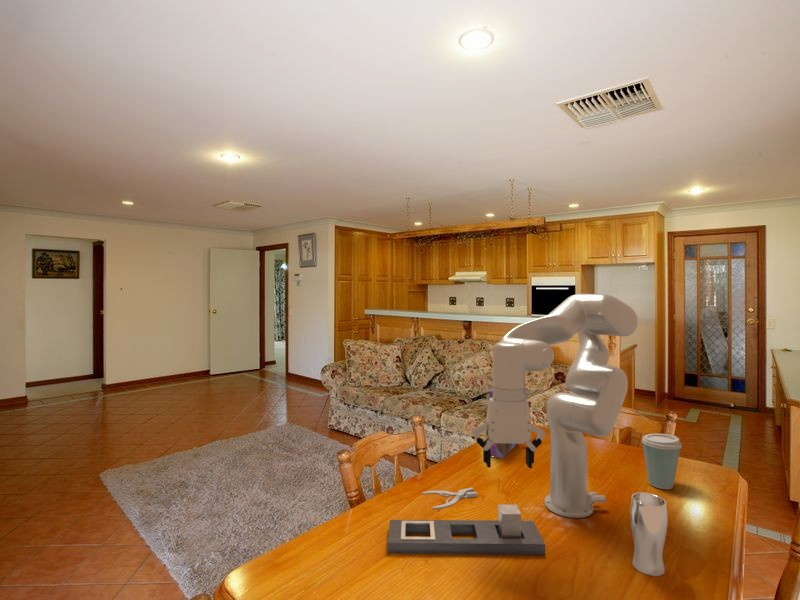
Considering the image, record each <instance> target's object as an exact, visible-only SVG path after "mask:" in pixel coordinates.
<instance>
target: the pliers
mask: <svg viewBox="0 0 800 600" xmlns="http://www.w3.org/2000/svg"><path fill="white" fill-rule="evenodd" d="M421 493H422V495H435V494H436V495H439V496H441V497H445V498H448V499H446V501H445V503H443V504H440V505H435V506H432V510H437V509H438V510H439V509H445V508H448V507H452V506H453V505H455V504H457V503H458V502H459V501H460V500H463V499H471V497H473V498H477V497H478V492H477V491H474V487H469V488H467V487H466V488H462V489H460V490H458V491H457V492H452V491H448V490H428V491H423V492H421ZM445 494H446V495H445ZM450 495H451V496H452V497H453V499H452V497H450ZM451 499H452V500H451ZM457 501H458V502H457ZM456 502H457V503H456Z"/></svg>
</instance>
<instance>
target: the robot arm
mask: <svg viewBox="0 0 800 600" xmlns="http://www.w3.org/2000/svg"><path fill="white" fill-rule="evenodd" d="M638 320H639V319H638V316H637V313H636V311H635V310H634V309H633V308H632V307H631V306H629V305H628V304H626V303H625V302H623V301H622V300H621V299H619V298H617V297H615V296H613V295H609V294H606V293H576V294H573V295H570V296H568V297H567V298H565V300H563V301H562V302H561V303H560V304H558V306H556V307H555V308H554V309H553V310H552V311H551V312H549V313H548V314H547V315H544V316H541V317H537V318H536V319H533V320H531V321H527V322H525V323H522V324H520V325H517V326H515V327H514V328H512V329H511V330H510V331H508V332H507V333H506V334H504V336H503V337H502V338H501V339H499V342H497V343H495V344H494V345H493V346H492V347H493V348H492V389H493V398H490V399H488V404H487V409H486V410H487V411H486V420H485V421H486V422H485V423H483V424H481V425H479V426H477V427H475V428H472V429H471V433H472V435H473V437H474V439H475V441H476V443H477V444H478V445H479V446H480V447H481V448H482V451H483V452H482V454H483V455H482V460H483V463H484V464H485V465H486V468H488V469H489V468H492V467H491V465H492V464H491V462H492V460H491V459H492V457H491V451H490V449H489V448H490V447H491V446H492V445H493V444H494V443H517V445H518V444H526V447H525V464H526V466H527V468H529V469H533V464H534V463H535V451H537V448H538V447H539V446H540V445H542V443H543V440H544V439H545V437H546V434H547V432H546V431H545V430H544V429H542V428H541V427H538V426H536V425H534V424H532V420H531V412H530V405H529V400H528V399H527V397H528V396H532V390H531V389H528V388H526V373H527V372H543V371H545V370H548V368H550V367H551V366H552V364H553V362H554V359H555V358H554V357H555V354H554V350H553V348H552V346H551V345H557V344H562V343H566V342H568V341H569V340H571V339H572V338H573V337H574V336H575V335H576V334H577V336H578V343H579V344H578V345H579V346H578V350H577V352H576V355H575V357H574V359H573V361H572V364H571V366H570V368H569V370H568V372H567V375H566V378H565V386H566V388H567V390H568V391H570V393H569V392H557V393H554V394H552V395H551V396H549V397H548V400H547V403H546V416H547V422H548V426H549V434H550V439H549V441H550V444H549V445H550V448H549V449H550V457H549V458H550V466H549V467H550V475H549V476H550V487H549V488H550V492H549V494H546V496H545V497H544V506H545V507H546V508H547V510H549V511H551V512H552V513H555V514H556V515H559V516H561V517H567V518H570V519H572V518H573V519H581V518H587V517H588V516H591V515H592V514H593V512H594V504H595V503H598V504H601V503H602V504H606V501H607V500H606V496H605V495H604V494H597V492H596V491H588V444H587V441H586V438H585V436H584V434H586V435H591V436H595V437H599V438H602V437H603V438H604V437H606V436H608V435H609V434H611V433H612V431H613V429H614V427H615V425H616V422H617V420H618V417H619V415H620V412H621V409H622V406H623V404H624V402H625V399H626V396H627V394H628V393H627V392H628V387H629V386H628V385H629V382H628V376H627V375H626V373H625V371H624V370H623V369H622V368H620V367H617V366H613V365H608V361H609V359H610V351H609V349H608V347H607V345H606V343H605V342H604V341H603V340H602V338H601V336H612V337H613V336H614V337H629V336H631V335H633V334H634V333H635V332H636V331H637V328H638V322H639V321H638ZM600 335H601V336H600ZM484 432H485V434H486V436H487V437H486V438H485V439H483V438H482V437H481V434H482V433H484ZM532 432H533V433H536V437H535V438H533V439H532ZM531 440H532V441H531Z"/></svg>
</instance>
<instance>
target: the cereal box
mask: <svg viewBox="0 0 800 600" xmlns="http://www.w3.org/2000/svg"><path fill="white" fill-rule="evenodd" d="M488 392H489V394H488V397H489V399H490V398H493V388H492V389H491V390H488ZM489 399H488V400H489ZM516 446H518V444H517V443H494V444H493V445H492V446H491V447H490V448H489V449H490V451H491V456H494V457H493V458H495V457H498V458H497V459H499V458H503V457H504V456H505V455H506V454H507V453H508V452H509V451H510V450H511V449H512V450H514V448H515V447H516ZM512 450H511V451H512ZM511 451H510V452H511ZM510 452H509V453H510ZM509 453H508V454H509ZM508 454H507V455H508ZM507 455H506V456H507ZM506 456H505V457H506ZM505 457H504V458H505ZM504 458H503V459H504Z"/></svg>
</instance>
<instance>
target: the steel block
mask: <svg viewBox="0 0 800 600" xmlns="http://www.w3.org/2000/svg"><path fill="white" fill-rule="evenodd" d="M497 515H498V516H497V520H498V536H499V539H521V521H522V513H521V511H520V509H519V507H518V504H497Z"/></svg>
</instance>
